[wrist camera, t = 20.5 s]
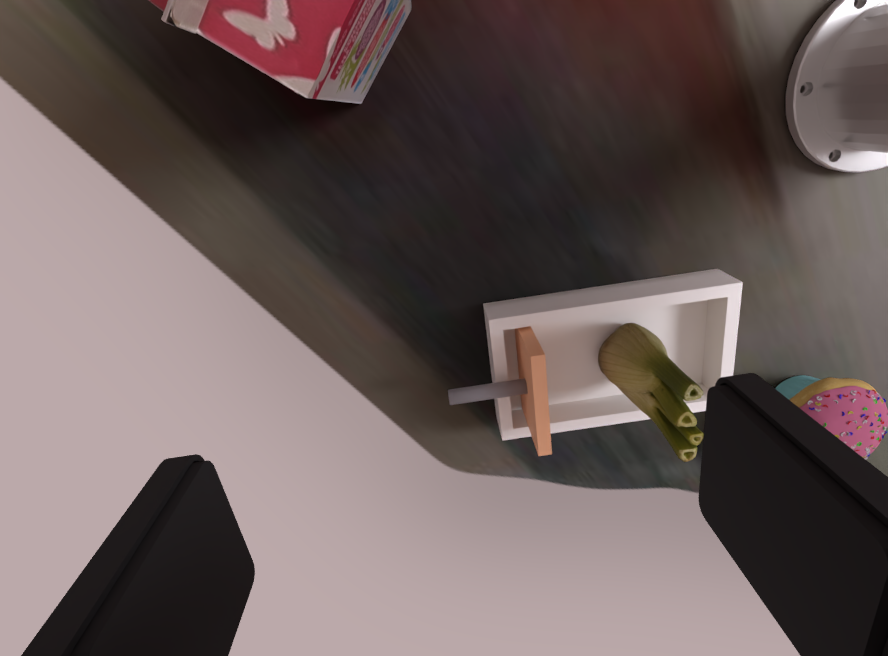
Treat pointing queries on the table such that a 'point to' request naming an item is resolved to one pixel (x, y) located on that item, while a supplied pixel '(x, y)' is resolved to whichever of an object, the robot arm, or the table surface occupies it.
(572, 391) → the white tray
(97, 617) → the robot arm
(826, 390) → the cupcake
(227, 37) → the juice carton
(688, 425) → the fennel bulb
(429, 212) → the table surface
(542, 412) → the pusher
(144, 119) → the table surface
